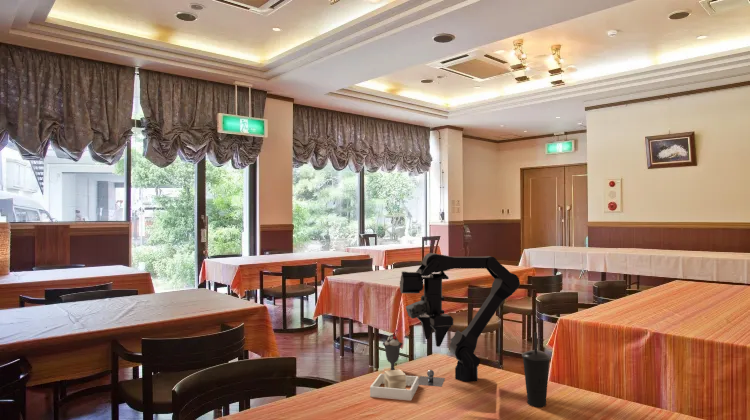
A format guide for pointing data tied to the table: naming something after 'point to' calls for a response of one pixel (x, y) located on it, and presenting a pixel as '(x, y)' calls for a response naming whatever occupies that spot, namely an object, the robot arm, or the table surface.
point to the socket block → (395, 379)
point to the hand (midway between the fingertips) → (432, 342)
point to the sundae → (392, 349)
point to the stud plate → (431, 380)
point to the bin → (394, 389)
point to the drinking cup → (536, 375)
